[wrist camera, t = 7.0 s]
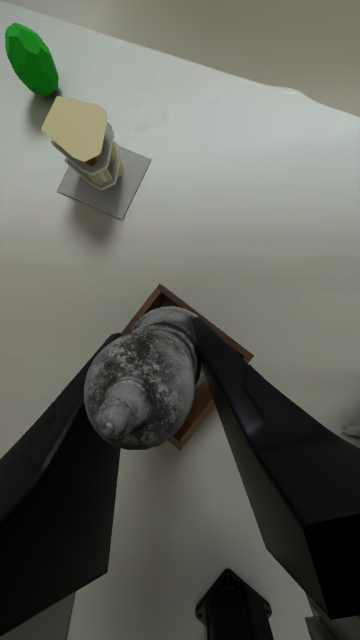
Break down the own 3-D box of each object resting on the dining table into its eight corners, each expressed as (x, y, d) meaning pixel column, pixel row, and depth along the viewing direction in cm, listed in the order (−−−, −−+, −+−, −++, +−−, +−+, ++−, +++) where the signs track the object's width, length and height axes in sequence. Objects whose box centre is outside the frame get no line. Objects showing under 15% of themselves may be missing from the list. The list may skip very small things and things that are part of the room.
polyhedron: (25, 94, 24) (-17, 35, 19) (47, 67, 24) (11, 1, 19) (51, 114, 23) (16, 59, 18) (73, 86, 23) (44, 24, 18)
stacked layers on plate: (57, 191, 23) (15, 148, 17) (85, 132, 23) (53, 71, 17) (122, 220, 22) (100, 185, 17) (151, 159, 22) (139, 105, 17)
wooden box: (181, 428, 21) (180, 451, 17) (106, 366, 22) (88, 374, 18) (242, 350, 21) (254, 355, 17) (164, 290, 22) (160, 283, 18)
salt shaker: (130, 365, 15) (-138, 541, 3) (154, 301, 15) (4, 189, 3) (194, 390, 14) (227, 730, 2) (218, 325, 14) (370, 313, 2)
